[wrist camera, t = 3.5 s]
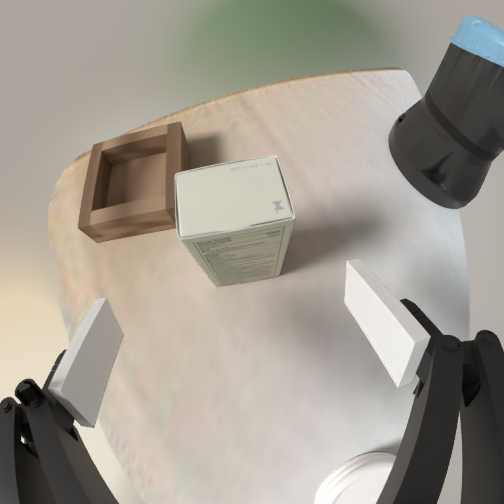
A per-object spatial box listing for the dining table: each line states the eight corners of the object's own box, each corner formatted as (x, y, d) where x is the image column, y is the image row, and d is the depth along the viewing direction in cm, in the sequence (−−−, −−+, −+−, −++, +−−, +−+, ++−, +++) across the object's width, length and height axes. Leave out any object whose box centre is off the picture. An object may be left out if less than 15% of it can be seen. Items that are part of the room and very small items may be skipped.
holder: (187, 144, 31) (180, 121, 27) (191, 225, 27) (181, 206, 23) (106, 164, 30) (93, 144, 26) (96, 242, 26) (77, 227, 23)
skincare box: (270, 234, 26) (281, 151, 15) (280, 278, 25) (301, 218, 14) (206, 245, 26) (172, 169, 15) (212, 290, 25) (176, 240, 13)
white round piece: (366, 434, 20) (381, 444, 17) (418, 471, 17) (434, 481, 14) (292, 501, 17) (297, 518, 14) (353, 531, 15) (363, 546, 12)
